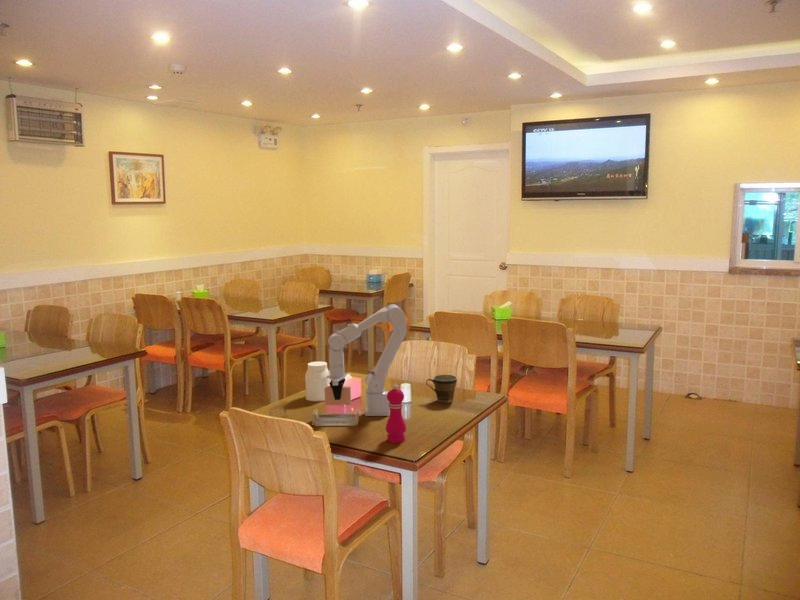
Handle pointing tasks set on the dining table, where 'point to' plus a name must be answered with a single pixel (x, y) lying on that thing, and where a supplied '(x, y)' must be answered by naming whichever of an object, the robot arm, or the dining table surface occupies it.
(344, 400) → the door panel
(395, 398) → the pepper mill
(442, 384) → the ceramic cup
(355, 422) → the door track
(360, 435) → the dining table surface
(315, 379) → the jar
